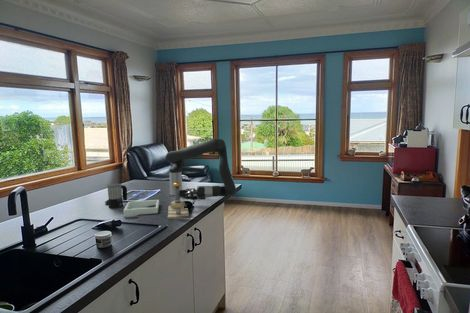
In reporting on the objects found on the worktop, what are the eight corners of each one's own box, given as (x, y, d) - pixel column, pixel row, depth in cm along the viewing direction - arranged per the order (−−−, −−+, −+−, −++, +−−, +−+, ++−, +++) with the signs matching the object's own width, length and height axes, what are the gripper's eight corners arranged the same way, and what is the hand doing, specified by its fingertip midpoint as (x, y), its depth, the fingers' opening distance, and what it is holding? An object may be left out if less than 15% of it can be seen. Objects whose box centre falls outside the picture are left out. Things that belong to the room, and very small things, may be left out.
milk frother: (118, 209, 202) (116, 186, 200) (96, 208, 205) (94, 186, 203) (129, 203, 216) (128, 182, 214) (109, 202, 219) (107, 181, 217)
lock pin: (175, 205, 202) (174, 182, 200) (182, 206, 201) (181, 182, 199) (173, 208, 197) (172, 184, 195) (180, 208, 196) (179, 184, 195)
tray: (128, 208, 203) (128, 201, 202) (159, 206, 206) (158, 199, 206) (123, 217, 184) (123, 210, 183) (157, 214, 188) (157, 207, 187)
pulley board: (168, 207, 203) (167, 193, 202) (187, 206, 205) (186, 192, 204) (167, 219, 179) (167, 204, 178) (188, 217, 181) (188, 202, 180)
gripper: (203, 183, 208) (178, 185, 205) (205, 188, 194) (179, 190, 191) (204, 194, 209) (179, 196, 206) (206, 200, 195) (179, 202, 192)
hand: (179, 193), depth 198 cm, fingers open, 8 cm apart
